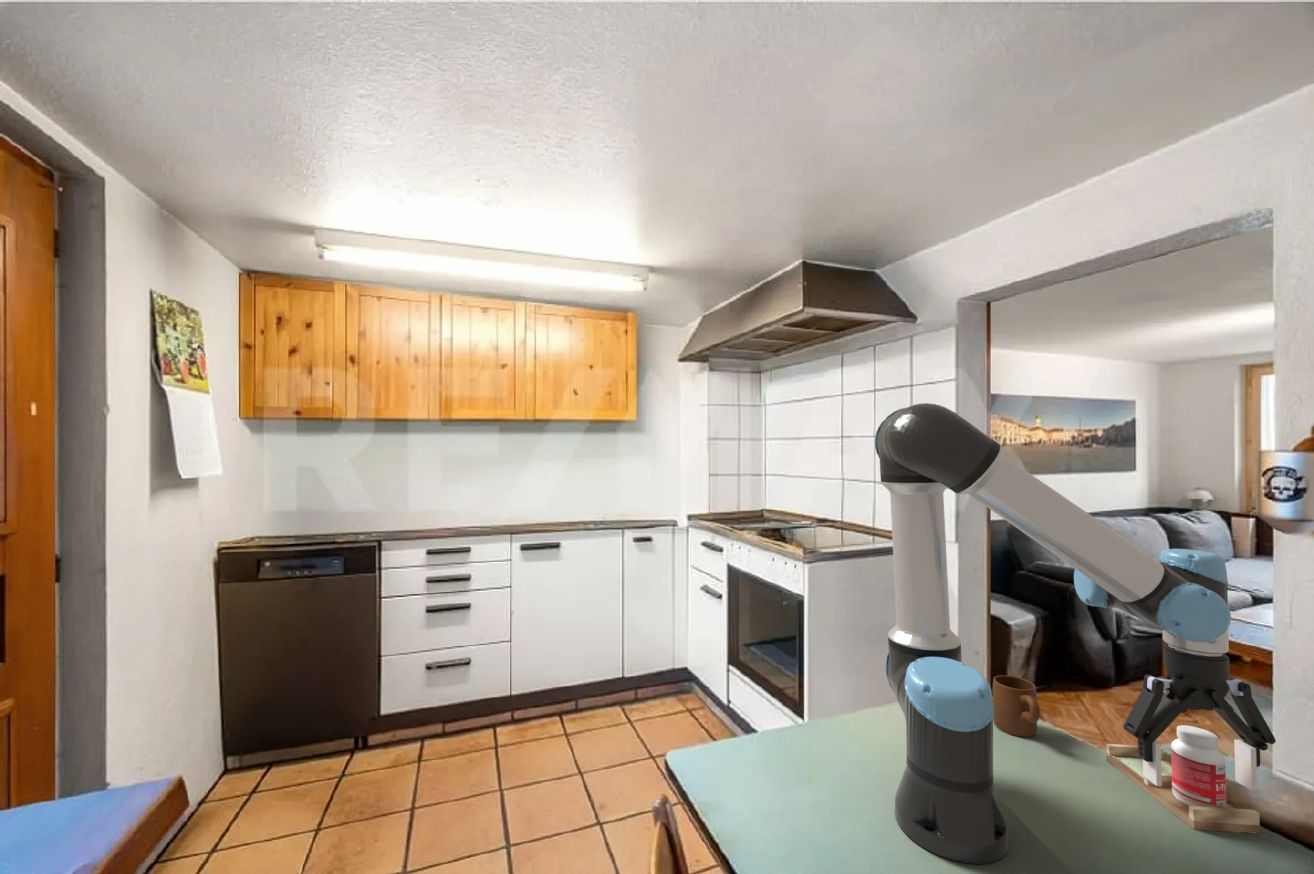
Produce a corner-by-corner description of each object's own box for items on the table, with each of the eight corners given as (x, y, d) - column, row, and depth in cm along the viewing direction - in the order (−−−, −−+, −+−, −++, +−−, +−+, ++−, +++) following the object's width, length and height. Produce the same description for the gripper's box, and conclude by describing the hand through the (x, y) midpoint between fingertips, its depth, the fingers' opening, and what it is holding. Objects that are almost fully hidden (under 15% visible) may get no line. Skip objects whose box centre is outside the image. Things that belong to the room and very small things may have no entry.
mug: (1059, 751, 104) (1058, 701, 104) (1016, 749, 105) (1016, 699, 105) (1024, 720, 116) (1023, 675, 116) (986, 718, 117) (985, 673, 117)
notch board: (1193, 829, 83) (1193, 809, 83) (1106, 760, 101) (1106, 743, 101) (1259, 833, 82) (1259, 813, 82) (1159, 763, 100) (1159, 746, 100)
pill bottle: (1226, 821, 82) (1224, 746, 83) (1170, 802, 87) (1169, 731, 87) (1226, 802, 87) (1224, 732, 87) (1173, 785, 91) (1171, 718, 92)
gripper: (1128, 654, 85) (1131, 793, 84) (1307, 660, 82) (1312, 803, 82) (1094, 638, 92) (1097, 765, 92) (1258, 642, 90) (1262, 773, 89)
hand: (1198, 783), depth 87 cm, fingers open, 13 cm apart
